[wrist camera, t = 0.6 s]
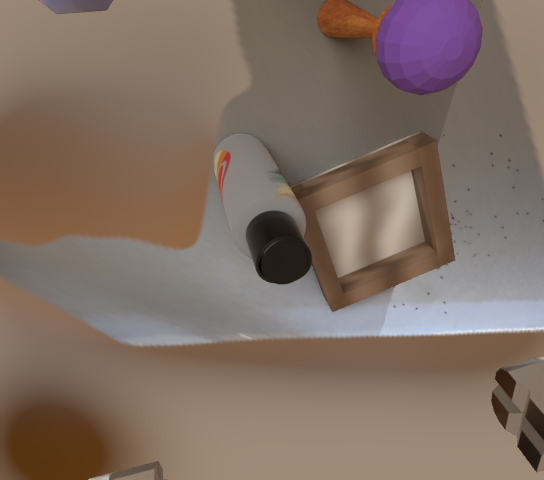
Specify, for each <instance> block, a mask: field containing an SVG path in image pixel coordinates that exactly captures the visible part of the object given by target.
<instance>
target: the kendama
mask: <svg viewBox="0 0 544 480" xmlns="http://www.w3.org/2000/svg"><path fill="white" fill-rule="evenodd" d="M318 26H319V28H320V30H321V32H322V33H324V34H325V35H326V36H328V37H332V38H372V40H373V50H374V52H375V55H376V57H377V61H378V64H379V66H380V68H381V71H382V73H383V75H384V77H385V78H386V79H388V80H389V81H390V82H391V83H392V84H393V85H394V86H396V87H397V88H399V89H401V90H403V91H406V92H410V93H414V94H418V95H424V94H429V93H434V92H438V91H441V90H444V89H446V88H448V87H450V86H451V85H453V84H454V83H456V82H457V81H459V80H460V79H462V78H463V76H464V75H465V74H466V73H467V72H468V70H469V69H470V68H471V67H472V65H473V64H474V62H475V59H476V57H477V55H478V52H479V50H480V47H481V39H482V25H481V21H480V18H479V14H478V11H477V10H476V8H475V7H474V5H473V4H472V3H471V2H470V0H396V1H395V3H393V4H392V5H391V6H389V7H388V8H386V9H385V10H384V11H383V13H382V14H381V16H380V17H379V18H376V17H374V16H373V15H371V14H369V13H367V12H366V11H364V10H362V9H360V8H359V7H357V6H355V5H353V4H352V3H350V2H348V1H346V0H327V1H326V2H324V4H323V5H322V7H321V8H320V10H319V14H318Z"/></svg>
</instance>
